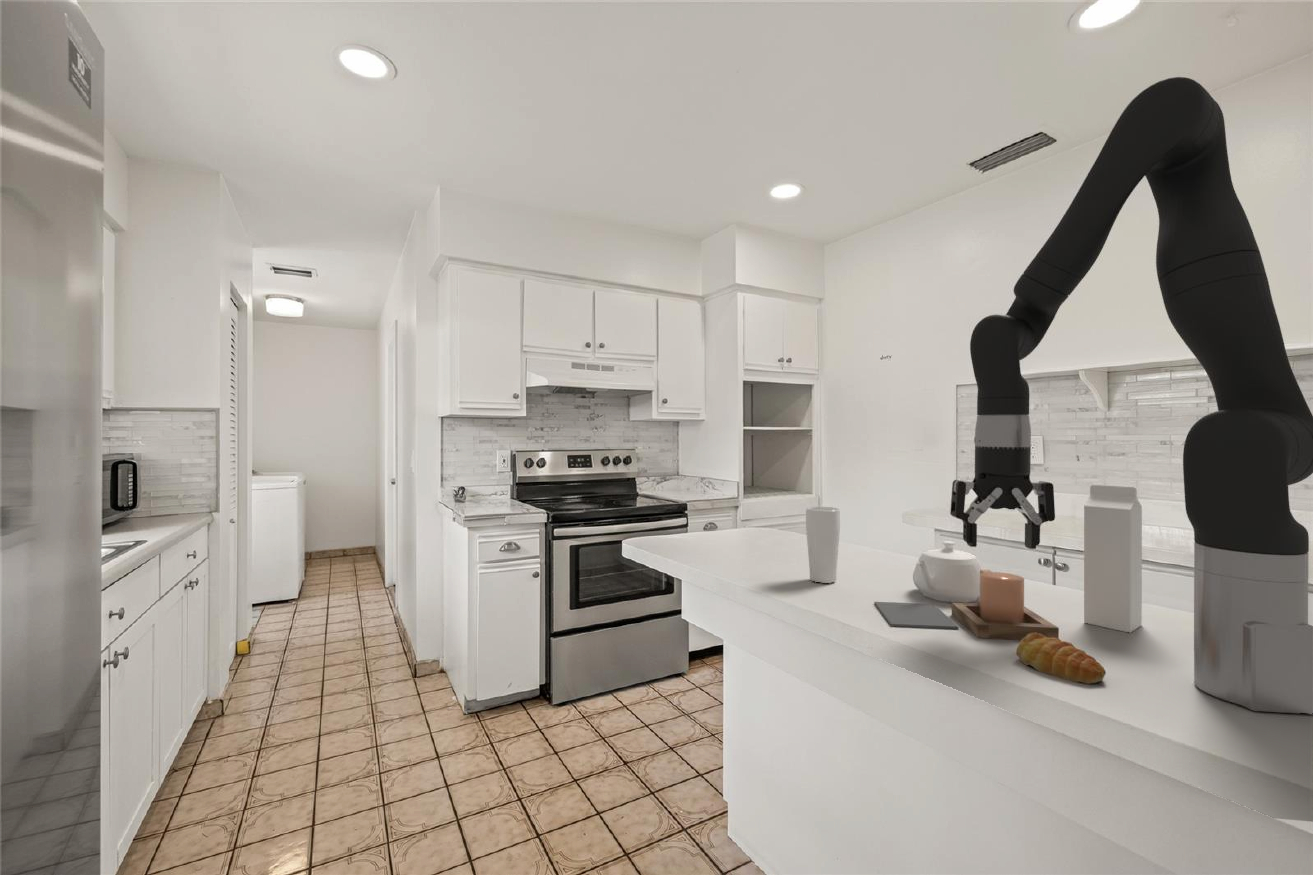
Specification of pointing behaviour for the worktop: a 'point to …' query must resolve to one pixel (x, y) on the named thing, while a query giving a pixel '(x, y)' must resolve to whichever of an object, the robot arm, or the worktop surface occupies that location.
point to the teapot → (948, 575)
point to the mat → (915, 615)
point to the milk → (1113, 558)
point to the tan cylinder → (1001, 597)
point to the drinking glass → (823, 542)
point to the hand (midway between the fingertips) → (1000, 547)
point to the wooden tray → (1002, 624)
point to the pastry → (1059, 659)
